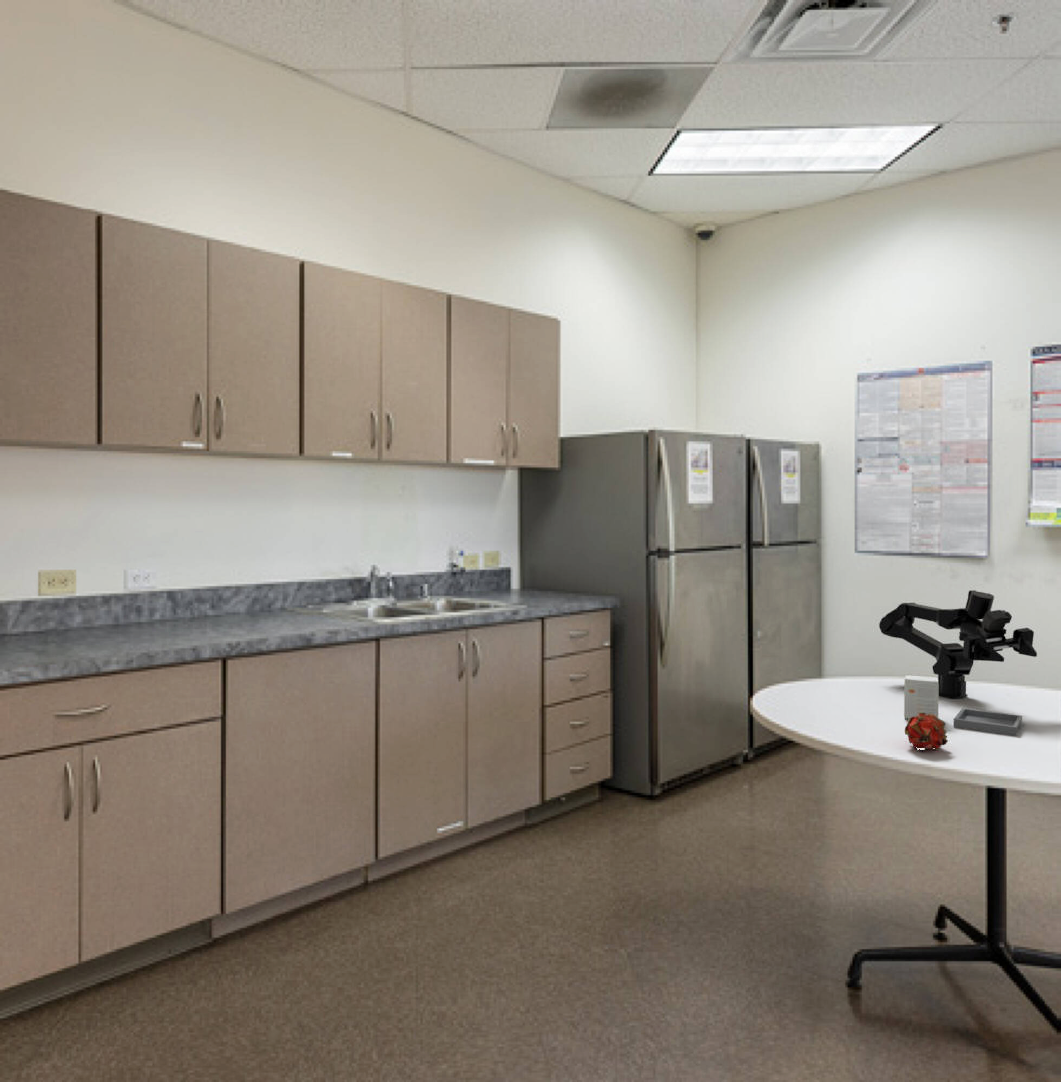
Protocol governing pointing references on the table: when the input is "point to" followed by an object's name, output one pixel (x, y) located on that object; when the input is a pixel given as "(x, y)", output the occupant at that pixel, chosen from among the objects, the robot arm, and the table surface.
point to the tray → (988, 721)
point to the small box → (921, 696)
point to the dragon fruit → (926, 731)
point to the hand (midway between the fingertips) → (1019, 657)
